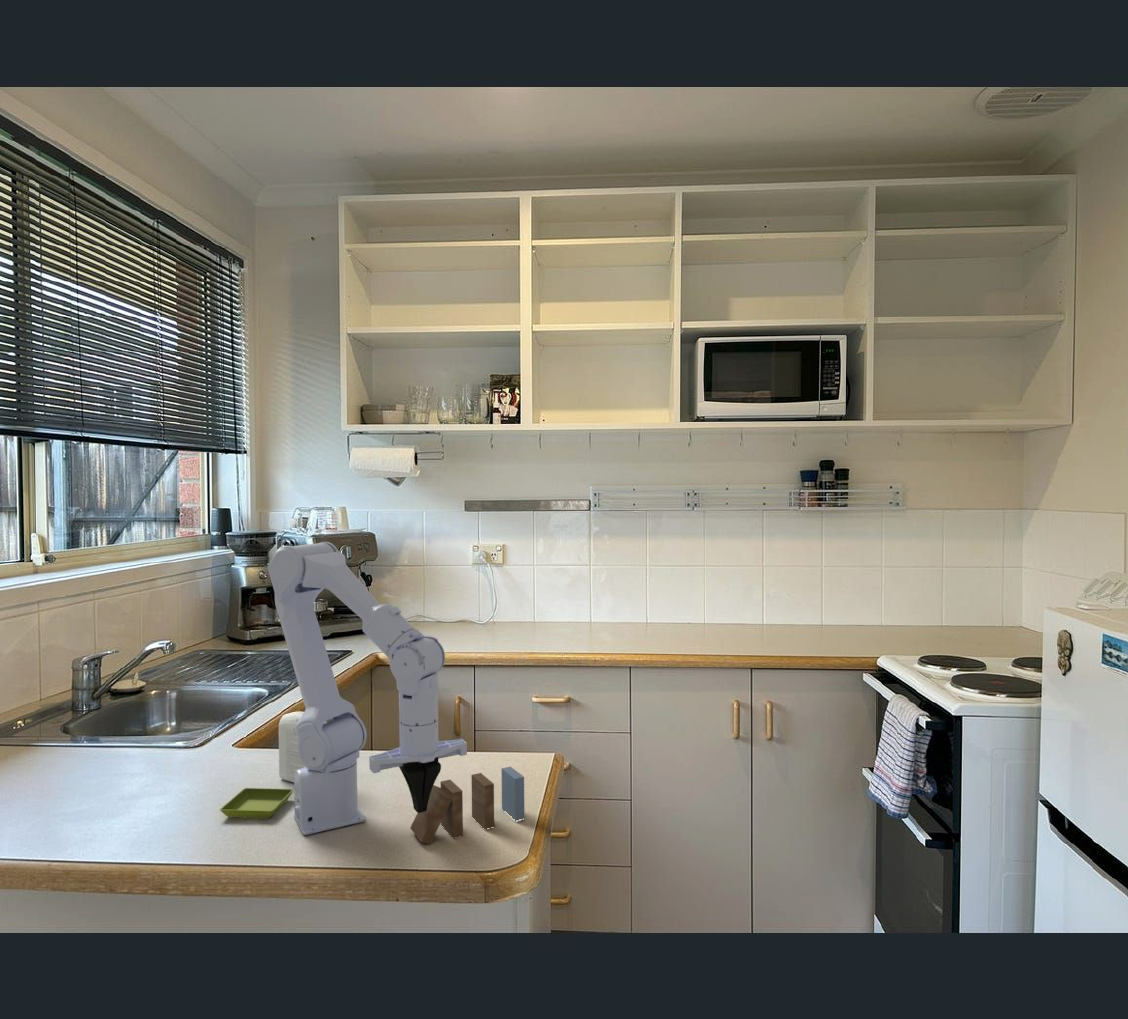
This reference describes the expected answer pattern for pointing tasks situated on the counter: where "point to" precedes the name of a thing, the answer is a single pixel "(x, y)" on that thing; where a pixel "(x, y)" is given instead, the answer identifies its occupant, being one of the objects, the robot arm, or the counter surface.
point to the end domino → (513, 793)
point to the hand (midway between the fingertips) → (420, 809)
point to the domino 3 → (483, 800)
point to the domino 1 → (431, 815)
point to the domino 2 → (453, 809)
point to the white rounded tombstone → (289, 746)
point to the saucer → (256, 802)
